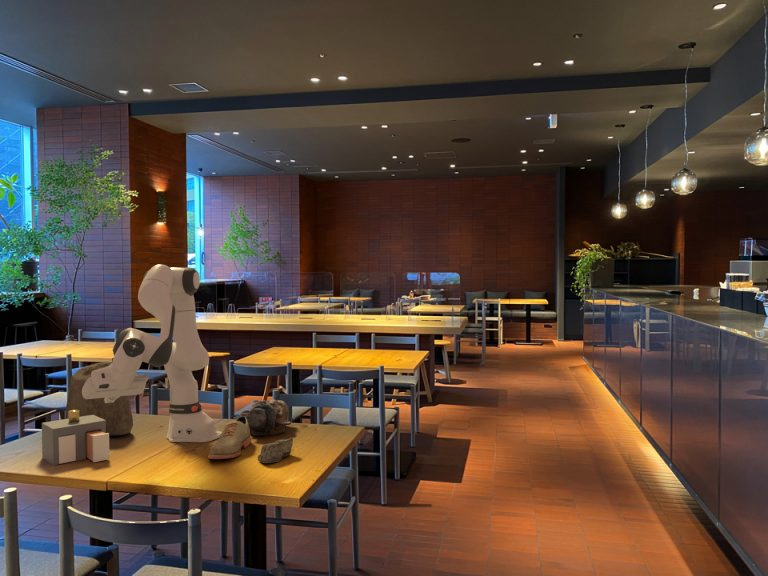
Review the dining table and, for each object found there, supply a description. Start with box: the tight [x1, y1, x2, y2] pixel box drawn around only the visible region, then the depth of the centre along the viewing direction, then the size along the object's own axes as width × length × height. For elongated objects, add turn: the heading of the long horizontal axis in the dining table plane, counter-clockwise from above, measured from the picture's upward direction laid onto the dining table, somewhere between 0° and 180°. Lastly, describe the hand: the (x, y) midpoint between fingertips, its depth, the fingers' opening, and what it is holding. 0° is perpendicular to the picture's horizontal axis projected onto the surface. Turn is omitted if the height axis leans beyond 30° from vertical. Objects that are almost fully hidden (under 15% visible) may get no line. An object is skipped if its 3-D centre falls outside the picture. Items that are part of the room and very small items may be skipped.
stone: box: [64, 361, 134, 437], centre depth 260 cm, size 25×34×30 cm
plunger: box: [85, 430, 110, 463], centre depth 220 cm, size 12×5×9 cm, turn 45°
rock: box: [257, 437, 294, 464], centre depth 218 cm, size 17×7×10 cm
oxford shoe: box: [207, 415, 252, 460], centre depth 226 cm, size 11×32×12 cm, turn 179°
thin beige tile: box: [58, 434, 77, 465], centre depth 218 cm, size 12×5×9 cm, turn 45°
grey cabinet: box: [41, 415, 106, 466], centre depth 222 cm, size 13×18×13 cm
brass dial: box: [68, 410, 79, 423], centre depth 222 cm, size 4×4×4 cm
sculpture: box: [240, 398, 292, 438], centre depth 255 cm, size 25×21×14 cm
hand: (108, 401), depth 211 cm, fingers closed
